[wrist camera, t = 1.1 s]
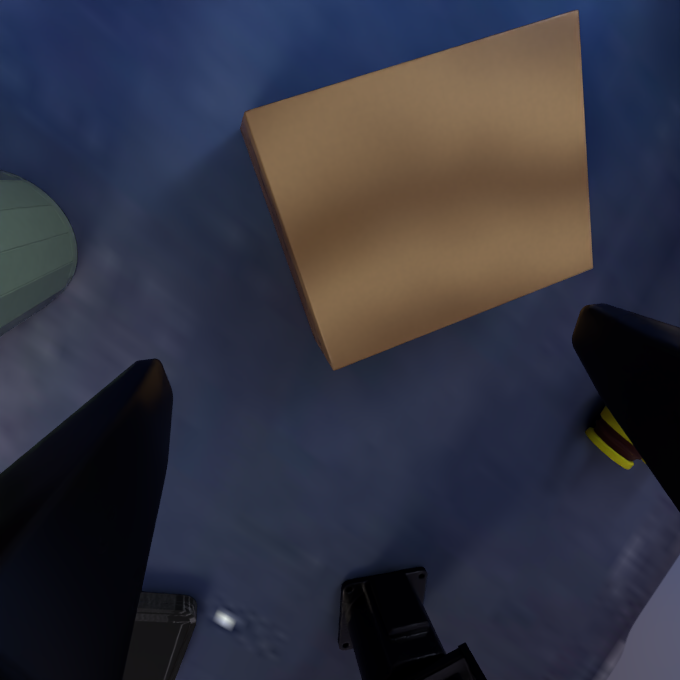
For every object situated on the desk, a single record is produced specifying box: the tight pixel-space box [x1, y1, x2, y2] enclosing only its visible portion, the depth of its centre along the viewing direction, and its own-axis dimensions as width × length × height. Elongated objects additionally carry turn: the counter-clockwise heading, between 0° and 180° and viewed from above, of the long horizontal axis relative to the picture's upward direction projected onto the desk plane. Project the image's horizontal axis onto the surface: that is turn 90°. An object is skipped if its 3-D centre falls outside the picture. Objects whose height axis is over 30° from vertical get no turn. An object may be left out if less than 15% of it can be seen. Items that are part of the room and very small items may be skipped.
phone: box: [123, 592, 197, 680], centre depth 25 cm, size 8×1×15 cm
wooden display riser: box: [240, 10, 593, 370], centre depth 20 cm, size 11×14×5 cm
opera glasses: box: [585, 406, 647, 469], centre depth 30 cm, size 10×5×5 cm, turn 68°
